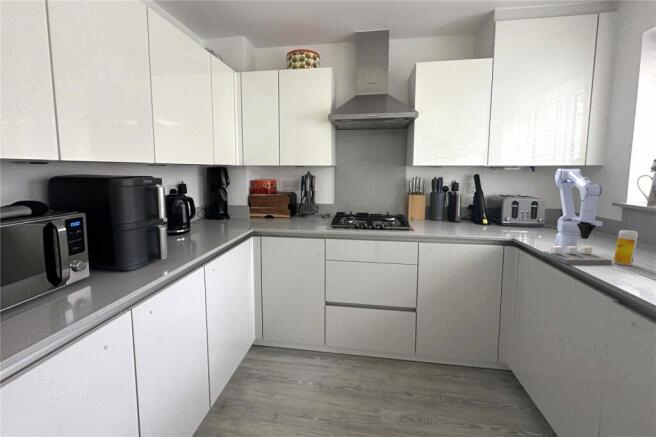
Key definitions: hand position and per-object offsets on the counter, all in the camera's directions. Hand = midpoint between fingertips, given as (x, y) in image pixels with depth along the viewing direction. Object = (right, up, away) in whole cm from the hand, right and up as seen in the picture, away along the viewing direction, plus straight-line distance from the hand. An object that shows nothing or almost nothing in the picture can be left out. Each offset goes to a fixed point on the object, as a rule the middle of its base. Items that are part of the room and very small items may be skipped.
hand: (584, 238), depth 145 cm
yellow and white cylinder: (+10, -11, -9) cm, 17 cm away
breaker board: (-6, -10, -2) cm, 12 cm away
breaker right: (+1, -7, +1) cm, 7 cm away
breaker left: (-13, -7, 0) cm, 15 cm away
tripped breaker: (-6, -7, 0) cm, 9 cm away
